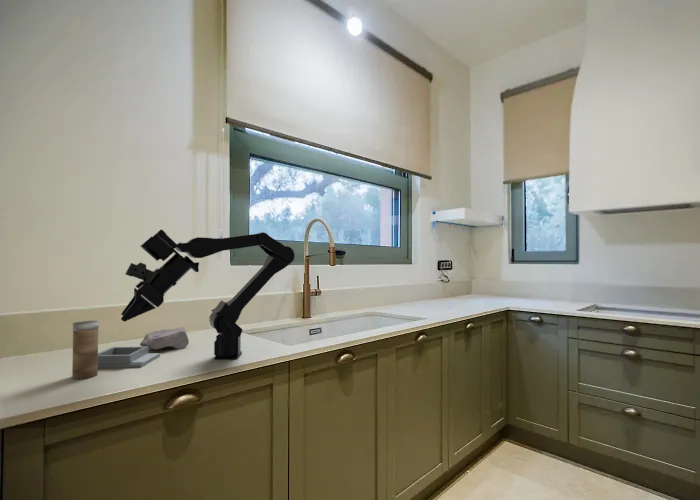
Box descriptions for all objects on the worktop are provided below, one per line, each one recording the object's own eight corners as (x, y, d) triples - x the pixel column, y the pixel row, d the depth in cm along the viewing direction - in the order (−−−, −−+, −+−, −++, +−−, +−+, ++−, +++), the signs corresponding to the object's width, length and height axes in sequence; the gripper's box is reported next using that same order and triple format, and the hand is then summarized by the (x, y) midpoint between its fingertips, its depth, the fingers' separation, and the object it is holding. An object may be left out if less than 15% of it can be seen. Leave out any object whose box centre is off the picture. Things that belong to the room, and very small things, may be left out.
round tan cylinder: (102, 372, 93) (103, 320, 93) (89, 379, 87) (90, 324, 88) (81, 373, 92) (81, 320, 93) (66, 379, 87) (67, 324, 87)
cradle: (160, 356, 108) (160, 345, 108) (141, 367, 97) (141, 355, 97) (102, 357, 107) (103, 346, 107) (77, 368, 96) (77, 356, 96)
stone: (143, 355, 110) (144, 334, 110) (139, 348, 117) (140, 329, 118) (191, 349, 118) (191, 330, 118) (184, 343, 125) (185, 326, 125)
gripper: (144, 252, 105) (97, 293, 99) (148, 251, 89) (92, 300, 83) (175, 279, 109) (131, 320, 103) (183, 282, 93) (133, 331, 87)
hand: (122, 317), depth 94 cm, fingers open, 9 cm apart
